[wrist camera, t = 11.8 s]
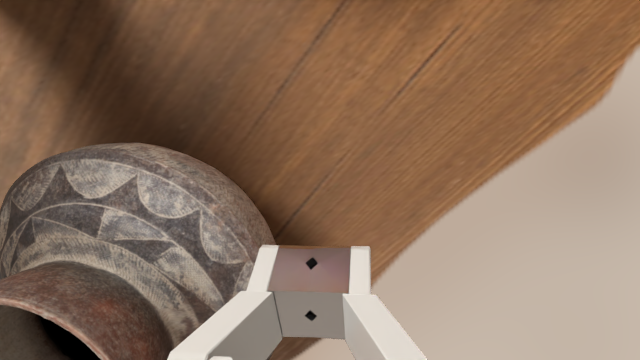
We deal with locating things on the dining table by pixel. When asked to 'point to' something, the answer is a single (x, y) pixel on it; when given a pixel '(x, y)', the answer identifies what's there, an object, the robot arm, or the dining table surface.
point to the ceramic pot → (120, 253)
